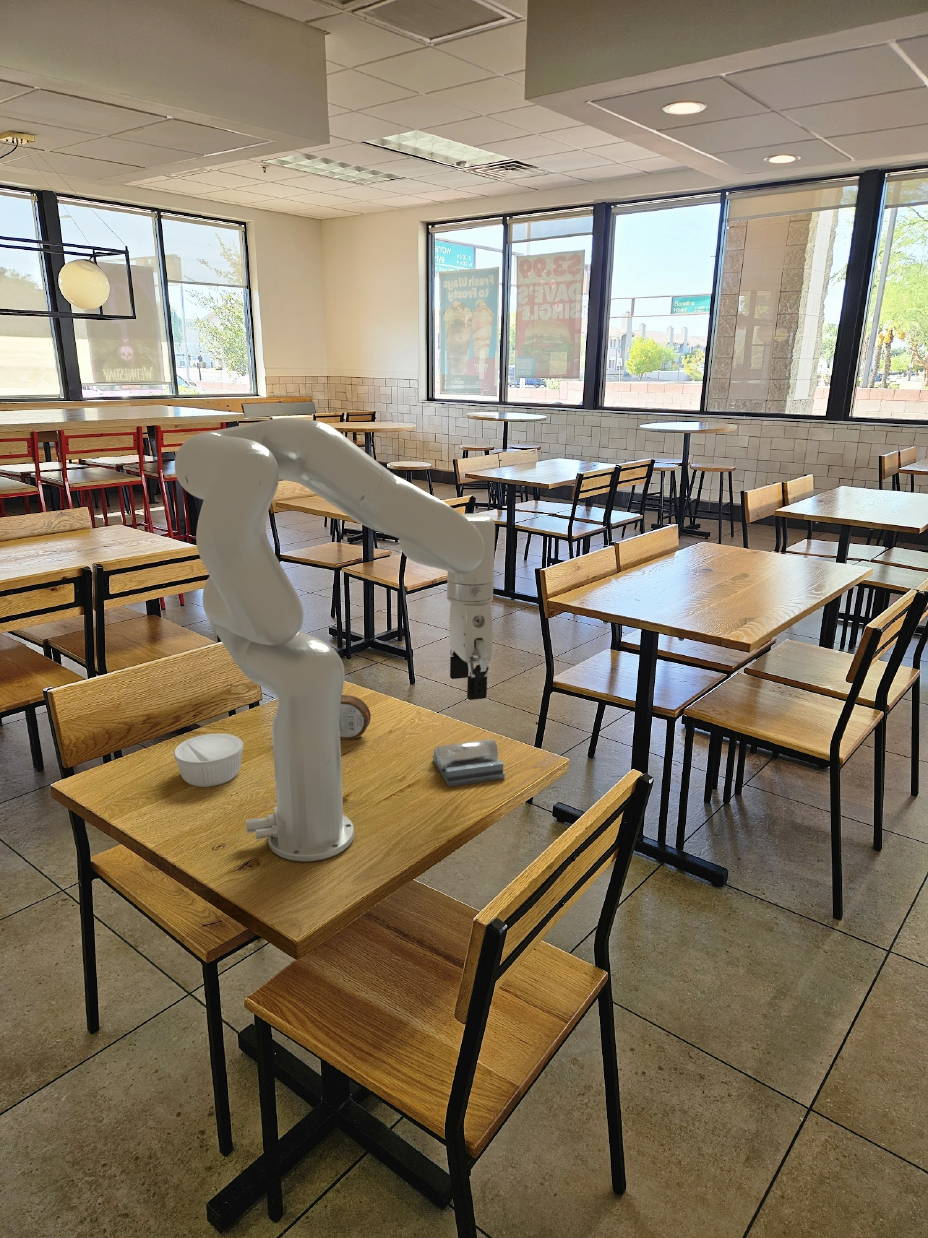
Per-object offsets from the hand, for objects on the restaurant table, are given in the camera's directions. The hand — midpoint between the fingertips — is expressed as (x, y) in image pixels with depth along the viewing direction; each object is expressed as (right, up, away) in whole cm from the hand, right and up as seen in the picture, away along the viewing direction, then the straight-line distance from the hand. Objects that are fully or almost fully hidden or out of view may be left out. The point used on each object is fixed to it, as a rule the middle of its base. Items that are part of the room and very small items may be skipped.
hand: (467, 687), depth 137 cm
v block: (0, -15, +5) cm, 16 cm away
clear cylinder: (0, -14, +4) cm, 15 cm away
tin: (-26, -11, +17) cm, 33 cm away
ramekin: (-44, -15, +2) cm, 47 cm away
